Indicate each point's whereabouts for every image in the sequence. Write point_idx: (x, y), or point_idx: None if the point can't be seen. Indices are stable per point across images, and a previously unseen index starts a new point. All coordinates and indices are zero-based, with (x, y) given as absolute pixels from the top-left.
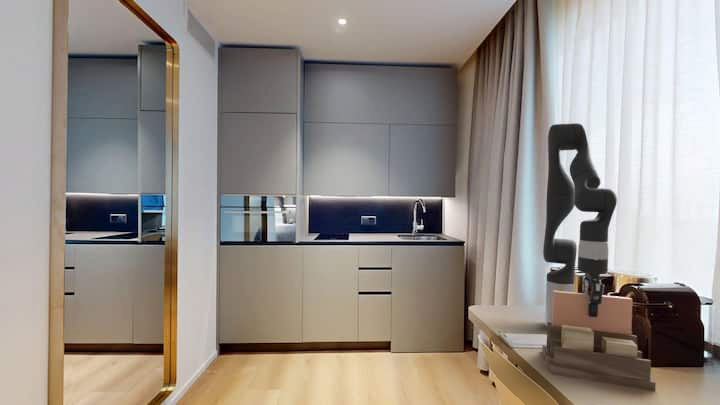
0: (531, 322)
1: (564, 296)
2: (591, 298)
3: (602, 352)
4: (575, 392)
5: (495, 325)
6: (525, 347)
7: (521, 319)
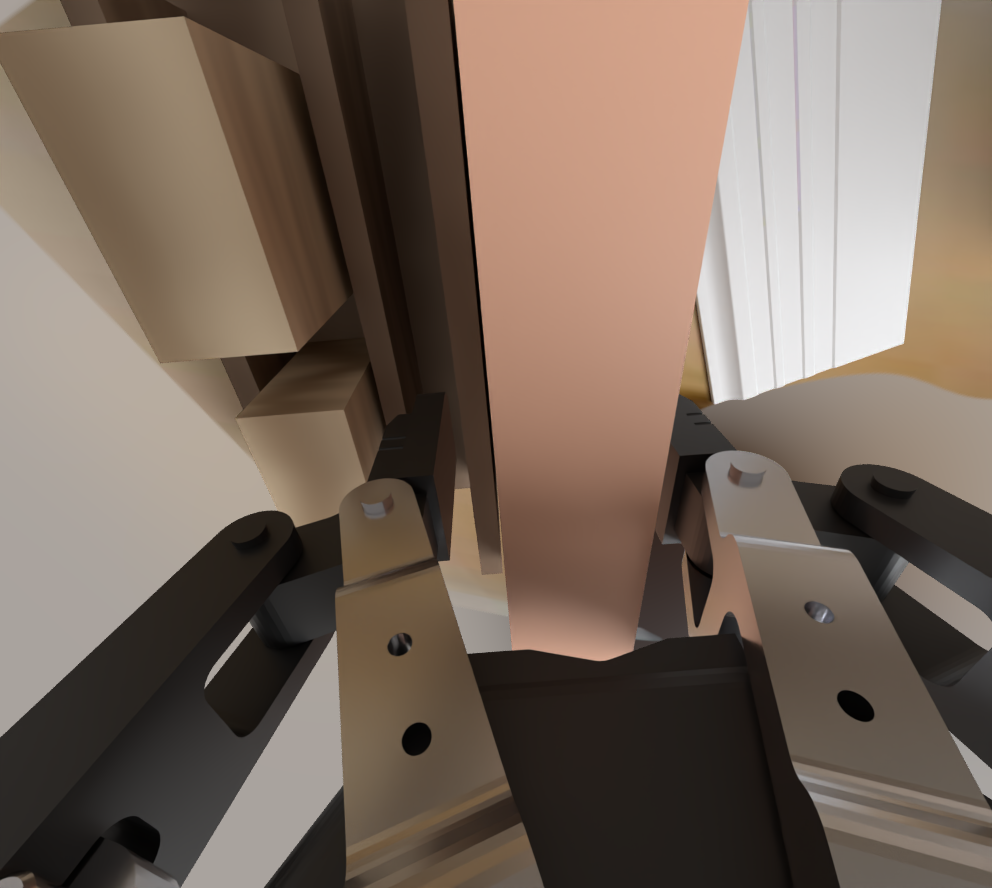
0: None
1: None
2: (172, 586)
3: (349, 367)
4: (15, 149)
5: None
6: None
7: None
